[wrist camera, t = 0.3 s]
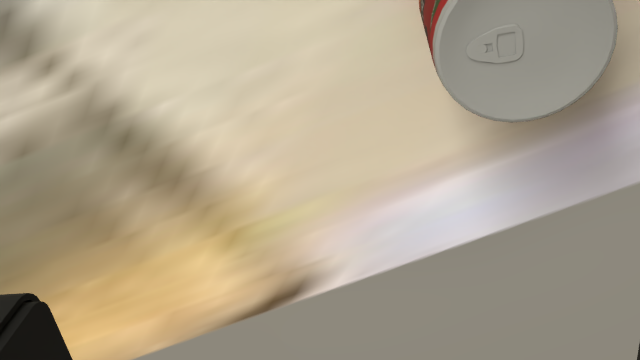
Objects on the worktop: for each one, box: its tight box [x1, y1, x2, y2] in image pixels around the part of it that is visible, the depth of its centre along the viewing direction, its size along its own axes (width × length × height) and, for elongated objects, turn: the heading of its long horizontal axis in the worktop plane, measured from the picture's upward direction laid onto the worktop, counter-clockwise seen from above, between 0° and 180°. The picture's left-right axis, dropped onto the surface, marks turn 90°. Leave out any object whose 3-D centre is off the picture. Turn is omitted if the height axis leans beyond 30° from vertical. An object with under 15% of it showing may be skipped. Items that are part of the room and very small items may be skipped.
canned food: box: [419, 0, 618, 122], centre depth 32 cm, size 8×8×11 cm
